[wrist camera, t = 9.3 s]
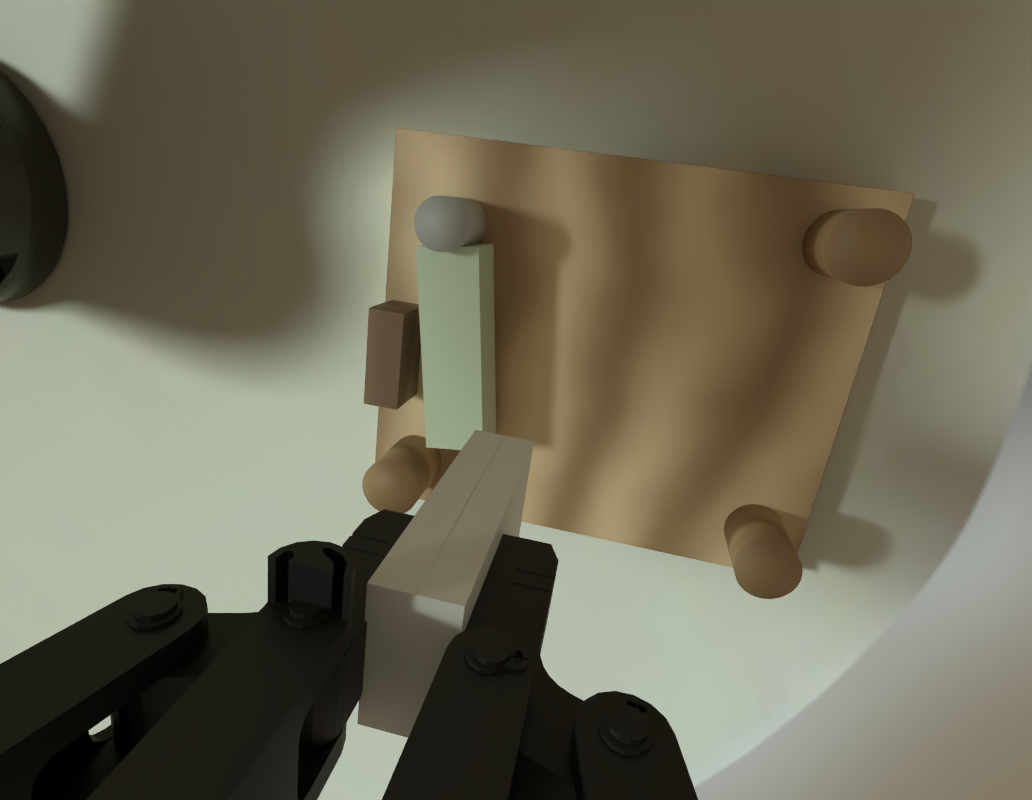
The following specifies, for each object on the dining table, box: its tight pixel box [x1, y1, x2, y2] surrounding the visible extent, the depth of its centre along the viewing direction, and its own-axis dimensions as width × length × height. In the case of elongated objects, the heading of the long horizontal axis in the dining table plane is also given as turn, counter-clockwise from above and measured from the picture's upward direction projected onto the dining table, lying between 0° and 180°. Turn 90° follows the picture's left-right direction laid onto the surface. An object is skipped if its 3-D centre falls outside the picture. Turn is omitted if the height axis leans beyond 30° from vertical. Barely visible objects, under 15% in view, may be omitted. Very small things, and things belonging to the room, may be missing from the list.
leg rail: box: [414, 196, 496, 450], centre depth 30 cm, size 12×3×4 cm, turn 0°
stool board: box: [363, 128, 915, 599], centre depth 30 cm, size 24×20×6 cm
